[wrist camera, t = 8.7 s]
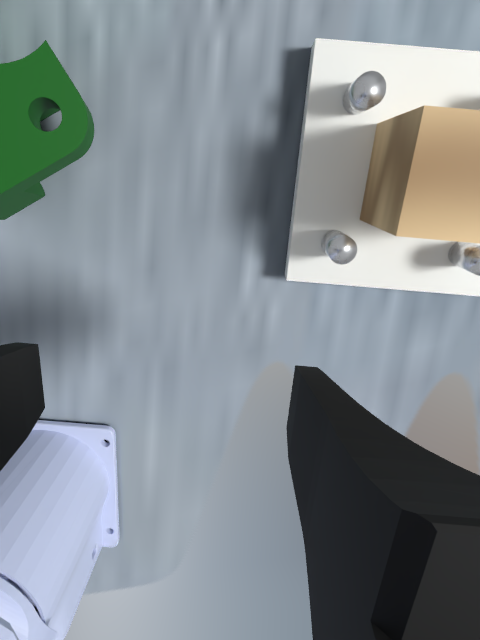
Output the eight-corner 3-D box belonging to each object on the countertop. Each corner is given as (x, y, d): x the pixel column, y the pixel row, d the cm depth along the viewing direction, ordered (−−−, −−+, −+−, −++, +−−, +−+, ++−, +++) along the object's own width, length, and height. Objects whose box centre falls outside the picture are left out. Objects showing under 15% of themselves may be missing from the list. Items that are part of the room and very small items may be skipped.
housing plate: (478, 290, 21) (516, 310, 18) (284, 274, 21) (290, 292, 18) (544, 65, 17) (606, 43, 14) (311, 46, 17) (324, 20, 14)
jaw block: (446, 227, 18) (512, 246, 14) (359, 219, 18) (396, 236, 14) (470, 131, 17) (553, 116, 12) (377, 123, 17) (424, 105, 12)
